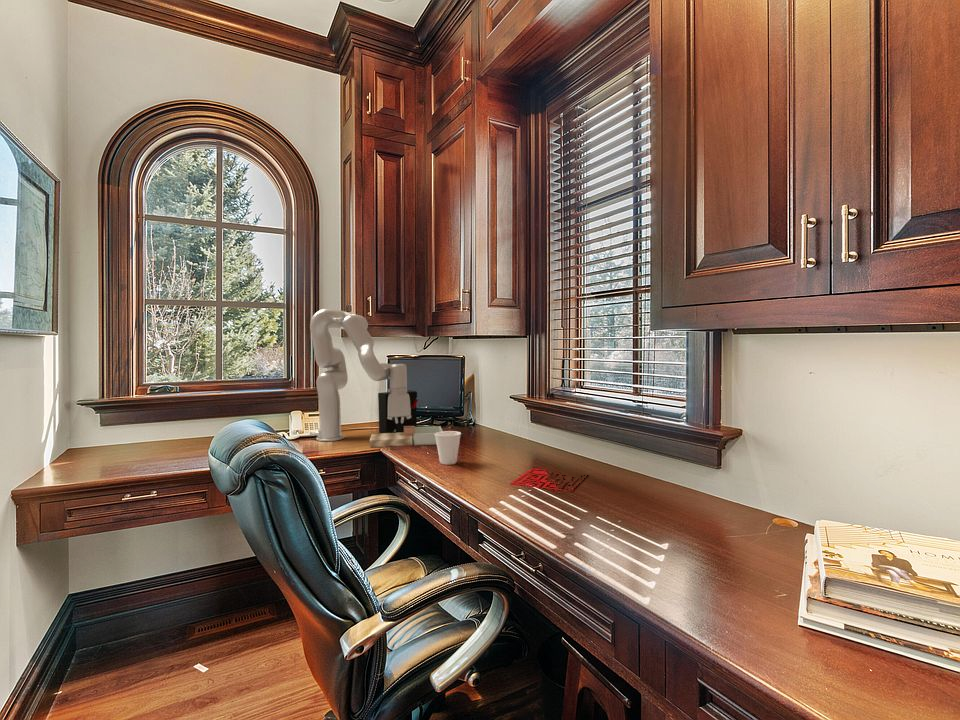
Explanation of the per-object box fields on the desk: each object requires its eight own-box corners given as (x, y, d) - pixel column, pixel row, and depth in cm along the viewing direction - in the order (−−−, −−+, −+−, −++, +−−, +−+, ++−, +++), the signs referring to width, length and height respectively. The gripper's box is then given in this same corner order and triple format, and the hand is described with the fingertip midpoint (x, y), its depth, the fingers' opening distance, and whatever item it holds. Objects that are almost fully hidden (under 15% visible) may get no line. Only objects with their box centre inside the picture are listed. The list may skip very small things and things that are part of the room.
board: (369, 447, 215) (369, 440, 215) (371, 440, 230) (371, 433, 230) (412, 445, 218) (412, 438, 218) (411, 438, 233) (411, 432, 233)
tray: (413, 445, 217) (413, 434, 217) (412, 438, 234) (412, 427, 234) (443, 444, 219) (443, 432, 219) (440, 436, 236) (440, 426, 236)
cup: (462, 459, 192) (462, 430, 191) (460, 466, 182) (460, 435, 181) (436, 459, 192) (435, 430, 191) (433, 466, 182) (432, 436, 181)
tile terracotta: (403, 434, 227) (403, 428, 226) (403, 432, 231) (403, 426, 231) (415, 434, 227) (415, 427, 227) (414, 432, 232) (414, 425, 232)
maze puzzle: (509, 485, 158) (509, 483, 158) (531, 470, 176) (531, 468, 176) (572, 493, 150) (572, 491, 150) (588, 476, 168) (588, 474, 168)
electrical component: (408, 428, 258) (407, 389, 257) (418, 431, 250) (418, 391, 249) (377, 433, 247) (376, 392, 246) (387, 436, 239) (386, 394, 238)
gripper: (381, 392, 223) (382, 434, 224) (415, 391, 225) (416, 432, 226) (382, 391, 230) (383, 431, 231) (415, 389, 233) (416, 429, 233)
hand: (399, 431), depth 228 cm, fingers closed
